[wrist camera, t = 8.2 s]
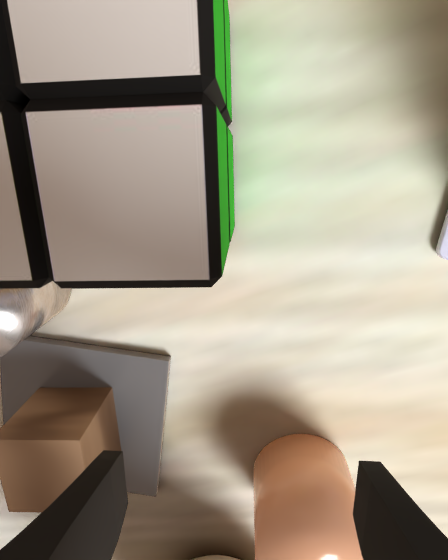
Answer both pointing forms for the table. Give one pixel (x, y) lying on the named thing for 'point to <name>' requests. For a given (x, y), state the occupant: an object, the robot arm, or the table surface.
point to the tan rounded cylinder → (304, 501)
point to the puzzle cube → (115, 143)
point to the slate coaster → (99, 373)
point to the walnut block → (54, 443)
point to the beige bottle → (215, 557)
